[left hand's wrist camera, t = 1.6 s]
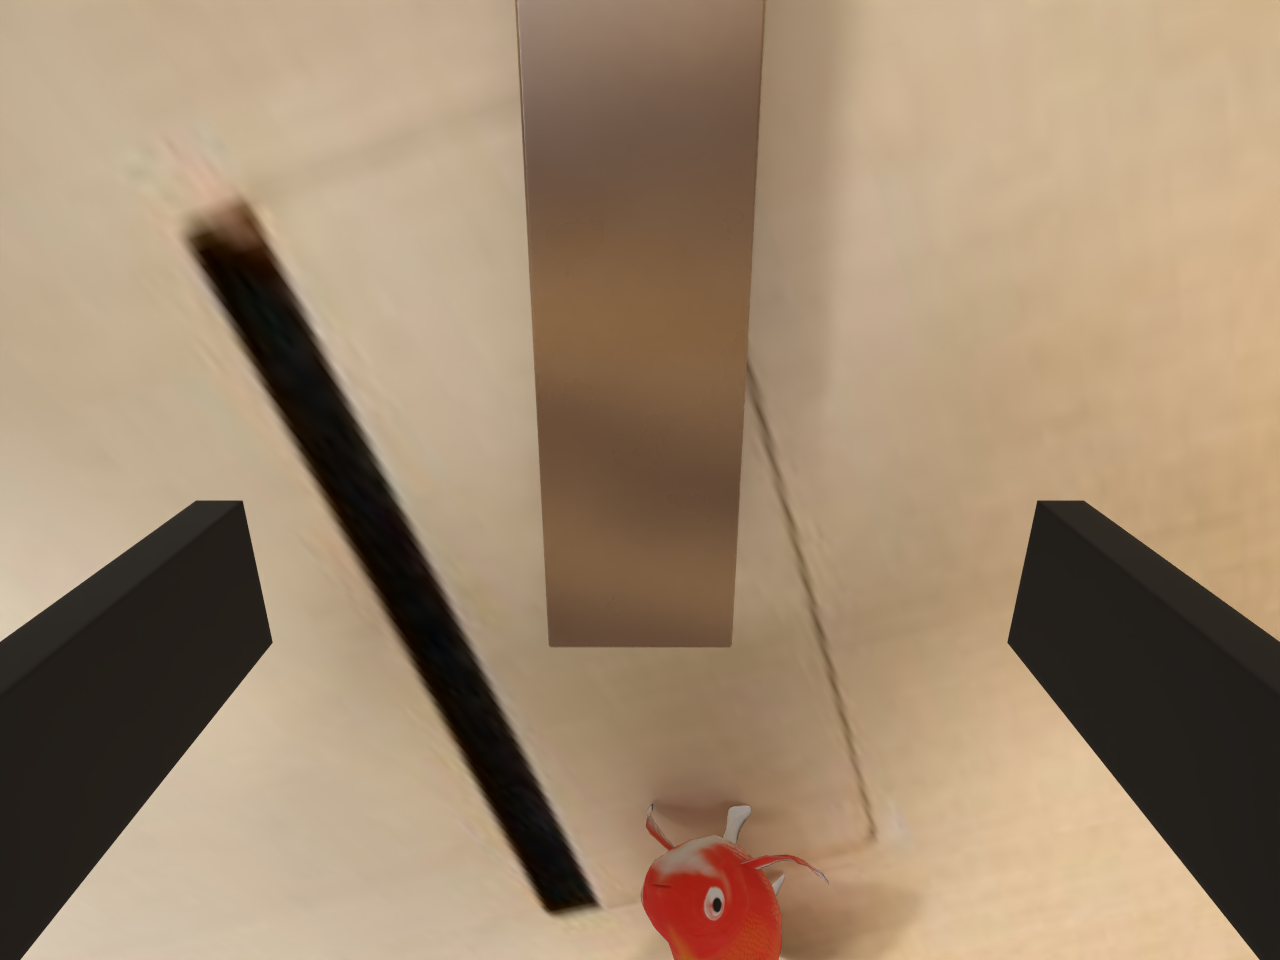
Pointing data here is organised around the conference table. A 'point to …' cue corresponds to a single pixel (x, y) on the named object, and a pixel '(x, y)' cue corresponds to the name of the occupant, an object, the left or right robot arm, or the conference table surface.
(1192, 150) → the conference table surface
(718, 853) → the fish
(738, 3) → the post
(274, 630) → the conference table surface
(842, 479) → the conference table surface
